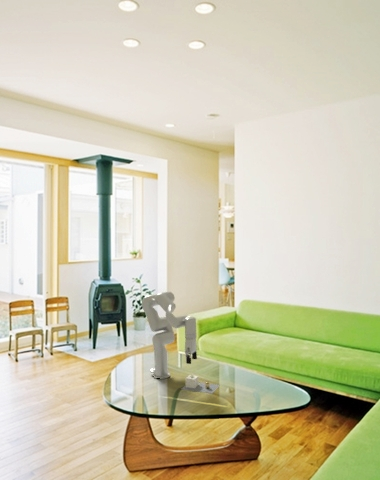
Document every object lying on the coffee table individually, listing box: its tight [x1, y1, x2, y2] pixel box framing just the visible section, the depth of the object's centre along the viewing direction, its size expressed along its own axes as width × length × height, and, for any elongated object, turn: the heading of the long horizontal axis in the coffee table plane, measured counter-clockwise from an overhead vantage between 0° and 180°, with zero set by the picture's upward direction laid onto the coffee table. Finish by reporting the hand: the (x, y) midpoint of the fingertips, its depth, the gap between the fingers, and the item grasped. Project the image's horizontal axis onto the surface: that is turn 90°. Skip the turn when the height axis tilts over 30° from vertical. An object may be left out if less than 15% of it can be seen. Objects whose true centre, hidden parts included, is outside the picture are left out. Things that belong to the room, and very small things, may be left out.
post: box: [204, 380, 210, 389], centre depth 261 cm, size 3×3×4 cm
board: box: [181, 382, 221, 395], centre depth 263 cm, size 22×15×1 cm
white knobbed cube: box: [185, 374, 200, 388], centre depth 265 cm, size 7×7×7 cm
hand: (191, 361), depth 265 cm, fingers open, 9 cm apart
